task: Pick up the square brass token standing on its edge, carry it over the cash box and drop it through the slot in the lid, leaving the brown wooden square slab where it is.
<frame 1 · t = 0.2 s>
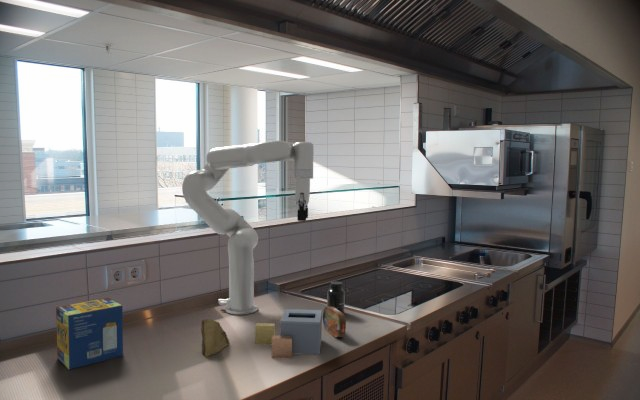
hand: (302, 219, 183), 36 cm above the worktop, tool pointing down, fingers open, 9 cm apart
rock: (216, 350, 148), on the worktop
protein box: (90, 357, 141), on the worktop
supplement bottle: (335, 313, 186), on the worktop
tin: (334, 333, 164), on the worktop
cash box: (301, 346, 151), on the worktop
brown wooden square slab: (282, 356, 143), on the worktop
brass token: (265, 342, 154), on the worktop
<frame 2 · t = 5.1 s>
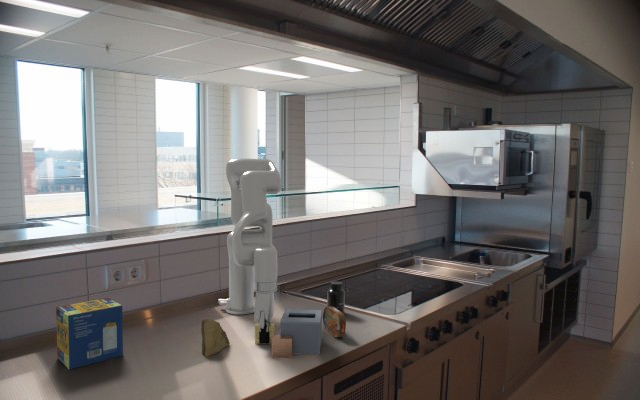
hand: (265, 341, 154), 0 cm above the worktop, tool pointing down, fingers closed on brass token, 2 cm apart
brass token: (265, 342, 154), on the worktop, touching gripper
everything else where it was.
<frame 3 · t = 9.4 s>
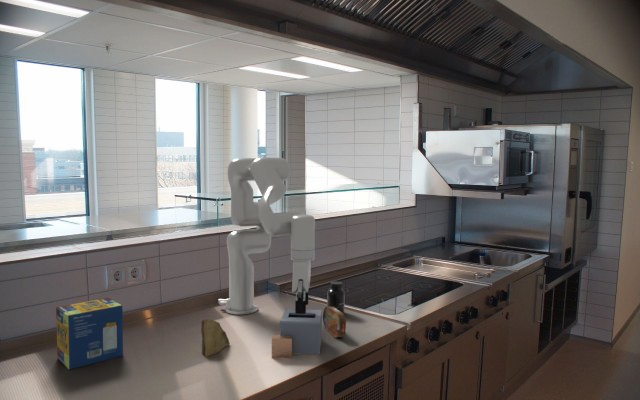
hand: (301, 308, 150), 12 cm above the worktop, tool pointing down, fingers open, 8 cm apart
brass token: (309, 335, 151), point 4 cm above the worktop, tilted 90°, touching cash box
everything else where it was.
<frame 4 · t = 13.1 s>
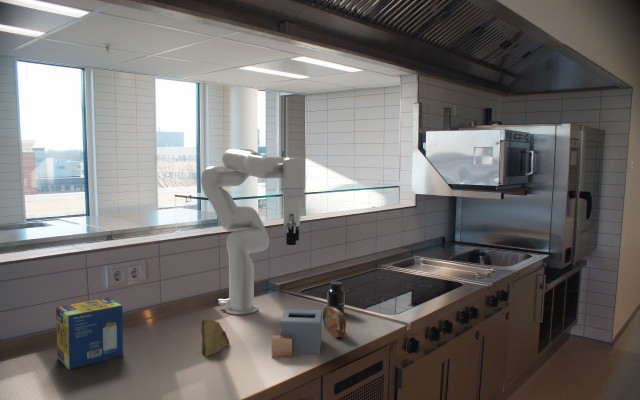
hand: (292, 242, 166), 30 cm above the worktop, tool pointing down, fingers open, 9 cm apart
nothing on the worktop moved.
at the end: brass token inside the target area on the cash box (2.4 cm from its centre), point 3.6 cm above the cash box's base; the gripper is holding nothing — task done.
